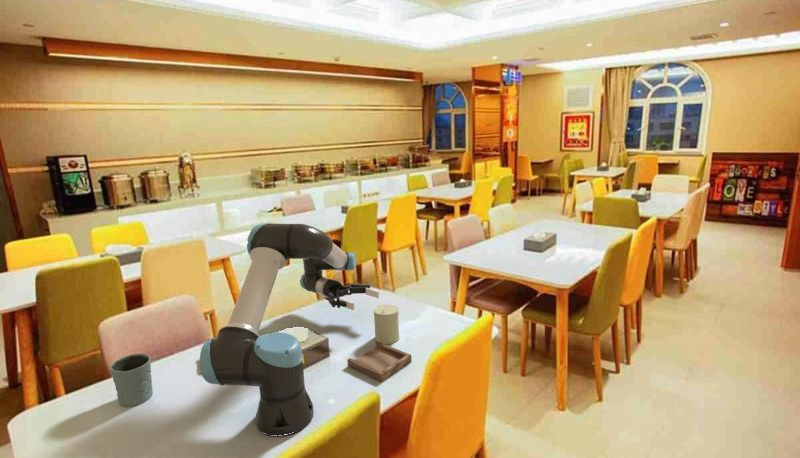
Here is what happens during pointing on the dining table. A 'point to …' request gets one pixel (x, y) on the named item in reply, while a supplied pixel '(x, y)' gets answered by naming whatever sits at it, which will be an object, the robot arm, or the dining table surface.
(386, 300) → the dining table surface
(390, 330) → the can
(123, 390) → the grey embossed cup
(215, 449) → the dining table surface
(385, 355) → the tray
